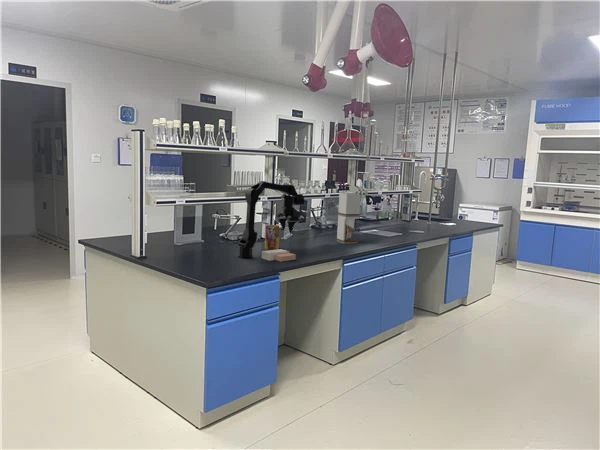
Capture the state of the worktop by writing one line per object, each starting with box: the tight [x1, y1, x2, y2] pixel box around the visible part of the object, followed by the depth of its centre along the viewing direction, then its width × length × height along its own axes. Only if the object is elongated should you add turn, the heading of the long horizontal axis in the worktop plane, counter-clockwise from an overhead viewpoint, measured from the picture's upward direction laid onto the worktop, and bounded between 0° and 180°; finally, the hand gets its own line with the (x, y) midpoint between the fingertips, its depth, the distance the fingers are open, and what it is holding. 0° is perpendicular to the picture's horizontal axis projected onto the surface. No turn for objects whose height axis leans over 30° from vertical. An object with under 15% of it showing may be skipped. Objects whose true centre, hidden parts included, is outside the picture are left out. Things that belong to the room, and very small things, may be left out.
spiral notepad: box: [261, 248, 290, 262], centre depth 257 cm, size 14×8×4 cm, turn 132°
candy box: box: [264, 224, 280, 250], centre depth 284 cm, size 9×4×15 cm, turn 96°
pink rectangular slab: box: [274, 252, 297, 263], centre depth 252 cm, size 11×5×3 cm, turn 132°
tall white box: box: [336, 192, 362, 245], centre depth 319 cm, size 11×11×35 cm
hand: (287, 230), depth 270 cm, fingers open, 9 cm apart
